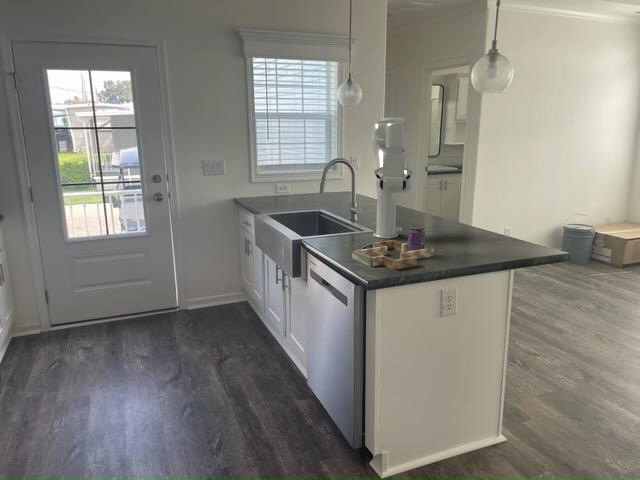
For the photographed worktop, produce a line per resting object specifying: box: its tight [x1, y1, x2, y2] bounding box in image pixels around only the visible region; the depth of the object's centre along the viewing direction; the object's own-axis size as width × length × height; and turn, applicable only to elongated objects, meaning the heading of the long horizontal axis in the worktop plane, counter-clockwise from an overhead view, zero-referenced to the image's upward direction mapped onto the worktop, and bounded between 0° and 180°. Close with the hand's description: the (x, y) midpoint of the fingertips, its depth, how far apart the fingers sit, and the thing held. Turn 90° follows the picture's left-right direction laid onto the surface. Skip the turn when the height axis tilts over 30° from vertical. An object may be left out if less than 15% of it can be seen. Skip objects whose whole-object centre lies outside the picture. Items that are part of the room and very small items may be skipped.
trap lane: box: [351, 239, 435, 270], centre depth 204 cm, size 33×29×4 cm
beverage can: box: [407, 225, 426, 252], centre depth 209 cm, size 7×7×12 cm
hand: (392, 189), depth 216 cm, fingers open, 9 cm apart
